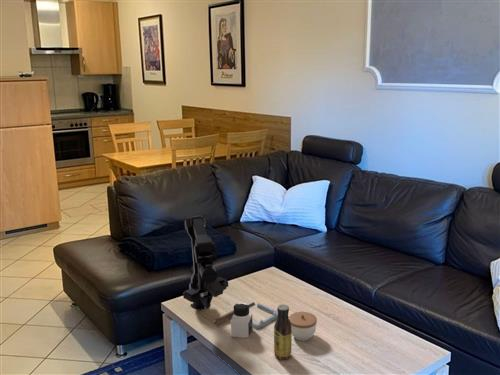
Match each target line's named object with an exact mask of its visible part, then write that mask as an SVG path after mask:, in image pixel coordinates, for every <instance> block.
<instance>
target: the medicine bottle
mask: <svg viewBox="0 0 500 375" xmlns="http://www.w3.org/2000/svg"><path fill="white" fill-rule="evenodd" d="M233 310H234V315H233V317H232V318H230V333H231V334H230V336H231V337H232V338H244V339H249V338H250V336H251V334H252V331H253V328H254V327H253V325H252V322H253V312H250V307H249V304H248V303H246V302H237V303H235V304H234V305H233Z"/></svg>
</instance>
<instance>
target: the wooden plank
mask: <svg viewBox="0 0 500 375" xmlns="http://www.w3.org/2000/svg"><path fill="white" fill-rule="evenodd" d="M233 315H234V309H233V310H232V311H229V312H227V313H225V314H223V315H221V316H219V317H217V318H216V319H215V322H216V324H215V325H217V326H218V325H220V324H222V323H224V322H226V321H228V320H229V319H230V320H231V319H232V317H233Z"/></svg>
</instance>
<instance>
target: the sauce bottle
mask: <svg viewBox="0 0 500 375" xmlns="http://www.w3.org/2000/svg"><path fill="white" fill-rule="evenodd" d="M276 311H278V318H276V319H275V320H276V321H275V323H274V325H273V326H274V327H273V345H274V346H273V353H274V357H275V358H276V359H277V360H279V361H282V360H283V361H285V360H289V359H290V358H291V355H292V344H293V343H292V337H293V335H292V330H291V322H290V320H289V311H290V306H289V305H287V304H279V305H278V306H277V310H276Z"/></svg>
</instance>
